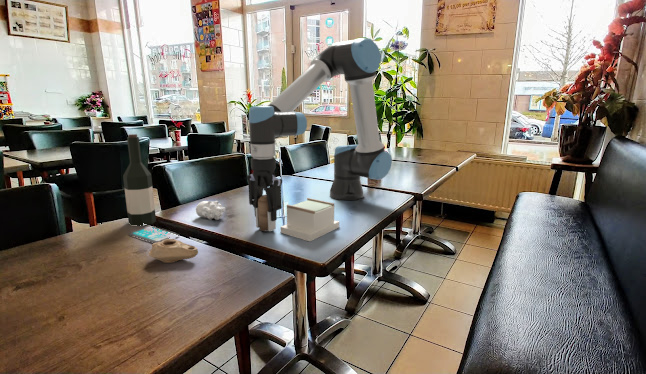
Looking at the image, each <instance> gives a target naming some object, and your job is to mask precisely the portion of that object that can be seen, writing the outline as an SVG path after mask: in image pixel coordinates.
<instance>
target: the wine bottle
mask: <svg viewBox="0 0 646 374" xmlns="http://www.w3.org/2000/svg"><path fill="white" fill-rule="evenodd" d="M127 136H128V137H126V140H127V148H128V149H127V151H128V157H129V164H128V165H127V168H126V170H125V171H124V173H123V176H122V178H123V179H122V180H123V187H124V193H125V194H124V195H125V203H126V211H127V219H128V224H129V223H130V224H131V225H137V226H136V227H144V226H143V223H144V224H147V225H146V226H149V225H153V224H154V223H155V222H157V217H156V208H155V207H156V206H155V197H154V190H153V189H154V188H153V180H152V179H153V178H152V173H151V172H150V171H149V169H148V168H147V166H146V165H145V164H143V161H142V154H141V145H140V143H141V142H140V137H139V136H138V134H137V133H135V134H133V133H131V134H128V135H127ZM130 224H129V225H130ZM131 225H130V226H131ZM140 225H141V226H140Z"/></svg>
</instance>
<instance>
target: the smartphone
mask: <svg viewBox="0 0 646 374" xmlns="http://www.w3.org/2000/svg"><path fill="white" fill-rule="evenodd" d="M151 227H152V228H153V229H154V228H155V229H157V231H158V232H160V233H161V232H162V231H163V233H165V232H166V233H165V234H167V233H168V232H170V233H169V234H168V235H170V234H171V233H173V235H174V234H176V235H178V236H181V235H180V234H179V233H176V232H172V231H168V230H166V229H163V228H159V227H157V226H156V227H155V226H151ZM159 229H160V230H159ZM158 232H157V233H158ZM154 233H155V232H154V230H153V231H152V232H151V231H147V230H144V228H141V229H138V230H135V231H131V232H129V233H128V236H129V235H131V236H135V237H138V238H141V239H144V240H147V241H150V242H153V243H157V242H162V241H163V240H165V239H169V238H170V237H169V238H168V236H166V235H162V234H160V233H159V234H160V235H159V234H157V233H155V234H154ZM161 235H162V236H161ZM131 236H130V237H131Z"/></svg>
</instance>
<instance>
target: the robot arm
mask: <svg viewBox="0 0 646 374" xmlns="http://www.w3.org/2000/svg"><path fill="white" fill-rule="evenodd" d="M381 57H382V55H381V52H380V49H379V46H378V45H377V43H376V42H375V41H374V40H372V39H370V38H364V37H363V38H361V37H360V38H355V39H351V40H350V39H349V40H345V41H337V42H334V43H332V44H331V45H329V46H328V47H326V48H324V50H322V51H321V52H320V53H319V54H318V55H317V56H315V58H313V59H312V60H311V62H310V64H309V65H310V66H308V68H307V69H305V71H303V72H302V73H301V74H300V75H299V76H298V77H297V78H296V79H295V80H294V81H293V82H291V84H290V85H289V86H287V87H286V88H285V89H284V90H283V91H282V92H281V93H280V94H279V95H278V96H277V97H275V98H274V100H273V101H271V102H270V103H269V104H267V105H253V106H251V107H249V110H248V125H249V143H250V145H249V146H250V157H251V159H250V166H251V170H252V171H253V172H252V173H251V174H247V175H246V179H247V180H246V181H247V183H248V184H247V185H248V203H249V206H253V209H254V217H255V228H257V229H259V213H258V199H259V198H260V197H261V196H262V195H264V192H265V195H266V196H267V201H268V206H269V210H268V211H267V212H268V231H267V232H271V231H275V230H276V229H277V228H276V227H277V225H276V221H277V219H278V217H277V211H280V210H282V207H283V206H282V203H283V202H282V184H283V179H282V178H277V177H276V175H275V170H276V168H277V166H276V165H277V163H276V162H277V161H276V159H277V158H276V157H275V156H276V137H277V138H279V137H288V136H289V137H291V136H293V137H296V136H300V135H303V134H304V133H305V132H306V130H307V128H308V120H307V117H306V115H305V114H304V113H303V112H302V111H301V112H300V111H295V110H296V109H297V108H298V107H299V106H300V105H302V103H303V102H304V101H305V100H307V99H308V98H309V96H310V95H312V93H314V92H315V91H316V90H317V89H318V88H319V87H320V86H321V85H322V84H323V83H325V82H326V83H327V82H329V81H330V80H331V79H332V78H333V77H336V76H340V75H343V76H344V81H345V83H347V84H348V85H349V89H350V96H351V97H350V98H351V102H352V103H351V104H352V110H353V117H354V123H355V129H356V136H357V137H356V138H357V143H358V144H348V145H347V144H346V145H337V146H336V147H335V148H334V155H333V161H334V162H333V181H332V183H331V187H330V189H329V197H331V198H332V199H335V200H341V201H355V200H361V199H363V198H364V189H363V186H362V183H361V178H362V177H363V178H366V179H370V180H378V181H379V180H382V179H385V178H386V177H387V175H388V174H389V172H390V170H391V167H392V163H393V159H392V155H391V154H390V153H389V152H387V151H385V145H384V143H383V142H382V141H380V133H379V124H378V115H377V108H376V101H375V93H374V85H373V84H374V82H373V81H374V79H375V78H376V76H377V73H376V71H378V70H379V68H380V66H381V65H380V64H381V60H382V58H381Z"/></svg>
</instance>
